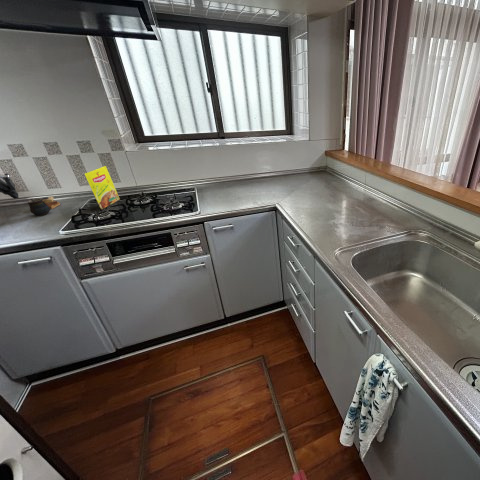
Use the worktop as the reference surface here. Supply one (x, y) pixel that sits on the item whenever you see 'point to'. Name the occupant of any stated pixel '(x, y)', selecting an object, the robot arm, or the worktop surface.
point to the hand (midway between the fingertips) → (16, 195)
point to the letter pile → (50, 202)
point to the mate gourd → (38, 207)
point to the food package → (102, 187)
